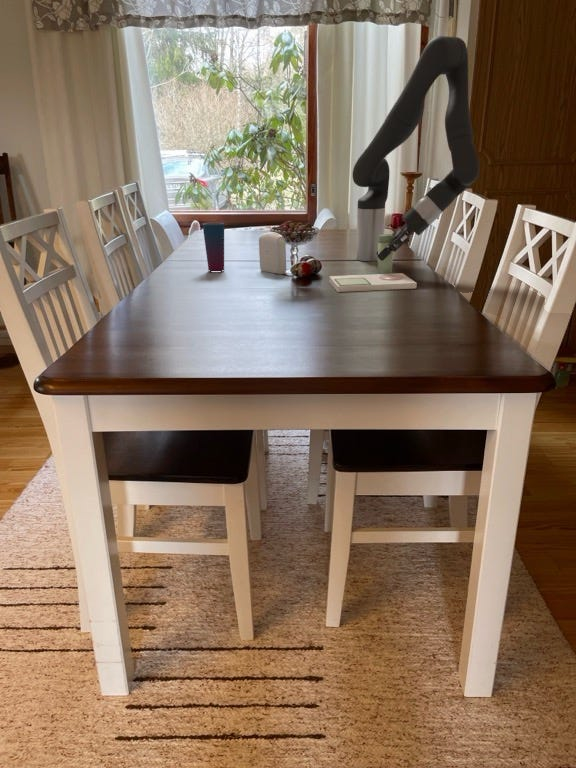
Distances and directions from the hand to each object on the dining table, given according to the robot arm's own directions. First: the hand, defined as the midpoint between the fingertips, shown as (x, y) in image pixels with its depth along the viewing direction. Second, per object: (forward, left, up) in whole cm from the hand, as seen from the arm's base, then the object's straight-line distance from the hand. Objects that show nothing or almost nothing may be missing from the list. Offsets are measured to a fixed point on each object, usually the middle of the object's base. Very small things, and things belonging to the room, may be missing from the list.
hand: (379, 257), depth 182 cm
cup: (-18, -49, -6) cm, 53 cm away
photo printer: (-13, -31, -6) cm, 34 cm away
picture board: (+12, -5, -6) cm, 14 cm away
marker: (0, +2, -6) cm, 6 cm away
